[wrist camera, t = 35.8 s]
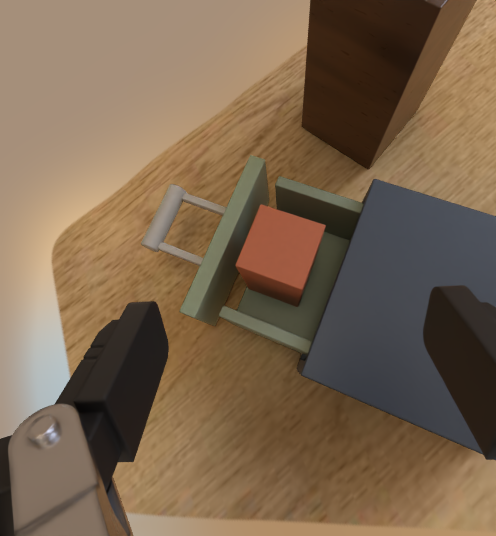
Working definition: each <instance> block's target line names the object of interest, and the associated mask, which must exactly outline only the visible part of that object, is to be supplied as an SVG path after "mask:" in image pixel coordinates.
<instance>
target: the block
mask: <svg viewBox="0 0 496 536" xmlns="http://www.w3.org/2000/svg"><path fill="white" fill-rule="evenodd" d="M325 227H326V226H325V225H323V224H320V223H317V222H314V221H311V220H308V219H305V218H302V217H299V216H295V215H292V214H289V213H286V212H283V211H280V210H277V209H274V208H271V207H268V206H265V205H262V204H261V205H260V207H259V209H258V211H257V214H256V216H255V219H254V221H253V224H252V226H251V228H250V231H249V233H248V236H247V238H246V241H245V243H244V245H243V248H242V250H241V253H240V255H239V258H238V260H237V262H236V267H237V269H238V271H239V273H240V274H241V276H242V278H243V280H244V282H245V283H246V285H247V287H248V289H250V290H253V291H256V292H258V293H261V294H263V295H266V296H269V297H271V298H274V299H277V300H279V301H282V302H285V303H287V304H290V305H293V306H295V307H298V305H299V303H300V300H301V297H302V295H303V292H304V289H305V286H306V284H307V281H308V278H309V275H310V273H311V270H312V267H313V265H314V262H315V259H316V256H317V253H318V249H319V246H320V243H321V240H322V237H323V233H324V230H325Z"/></svg>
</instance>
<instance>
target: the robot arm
mask: <svg viewBox="0 0 496 536" xmlns="http://www.w3.org/2000/svg"><path fill="white" fill-rule="evenodd" d="M423 339H424V344H425V347H426V350H427V352H428V354H429V356H430V357H431V359H432V361H433V363H434V365H435V367H436V368H437V370H438V372H439V374H440V376H441V378H442V379H443V381H444V383H445V385H446V387H447V389H448V390H449V392H450V394H451V396H452V398H453V400H454V401H455V403H456V405H457V407H458V409H459V411H460V412H461V414H462V416H463V418H464V420H465V422H466V423H467V425H468V427H469V429H470V431H471V433H472V434H473V436H474V438H475V440H476V442H477V444H478V445H479V447H480V449H481V451H482V453H483V454H484V456H485V458H486V460H493V459H496V307H494V306H493V305H491V304H489V303H488V302H480V301H479V300H478V299H477V297H476V296H475V295H474V294H473V293H472V292H471V291H470V289H469V288H468V287H466V286H464V285H457V286H438V287H434V288H433V289H432V291H431V293H430V298H429V303H428V308H427V313H426V317H425V322H424V327H423ZM168 351H169V346H168V339H167V335H166V332H165V328H164V325H163V321H162V318H161V314H160V311H159V308H158V305H157V303H156V302H155V301H150V302H131V303H129V304H128V305H127V306H126V308H125V310H124V311H123V313H122V315H121V317H120V319H119V320H112V321H111V322H110V323H109V324H107V325H106V326H105V327H104V328H103V329H102V330H101V331H99V333H98V334H97V336H96V337H95V339H94V341H93V342H92V344H91V348H89V349H88V351H87V352H86V354H85V355H84V359H83V360H81V362H80V364H79V365H78V367H77V368H76V370H75V372H74V373H73V375H72V377H71V378H70V380H69V382H68V383H67V385H66V387H65V388H64V390H63V392H62V393H61V395H60V396H59V398H58V400H57V401H56V403H55V404H54V405H51V406H48V407H45V408H43V409H40V410H39V411H37V412H35V413H34V414H32V415H31V416H29V417H28V418H27V419H26V420H24V421H23V423H21V424H20V425H19V427H18V428H17V429H16V430H15V432H14V433H13V435H11V436H8V437H5V438H1V439H0V536H133V533H132V530H131V527H130V524H129V521H128V519H127V515H126V513H125V510H124V507H123V504H122V501H121V498H120V495H119V492H118V489H117V486H116V483H115V481H114V478H113V473H114V471H115V468H116V465H117V462H134V459H135V456H136V453H137V450H138V447H139V444H140V441H141V438H142V435H143V432H144V429H145V426H146V423H147V420H148V416H149V413H150V410H151V407H152V404H153V401H154V398H155V395H156V392H157V389H158V386H159V383H160V380H161V377H162V374H163V371H164V368H165V365H166V362H167V359H168Z"/></svg>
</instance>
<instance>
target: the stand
mask: <svg viewBox="0 0 496 536" xmlns="http://www.w3.org/2000/svg"><path fill="white" fill-rule="evenodd" d="M475 2H476V0H310V14H309V28H308V43H307V57H306V71H305V85H304V100H303V114H302V127H303V128H304V129H306V130H307V131H309V132H310V133H312V134H314V135H315V136H317V137H318V138H320V139H321V140H323V141H325V142H326V143H328V144H329V145H331V146H332V147H334V148H336V149H337V150H339V151H340V152H342V153H343V154H345V155H347V156H348V157H350V158H351V159H353V160H354V161H356V162H358V163H359V164H361V165H362V166H364V167H365V168H367V169H370V167H371V166H372V165H373V164H374V163H375V161H376V160H377V159H378V158H379V156H380V155H381V154H382V153H383V152H384V150H385V149H386V148H387V147H388V145H389V144H390V143H391V142H392V141H393V139H394V138H395V137H396V136H397V134H398V133H399V132H400V131H401V130H402V128H403V127H404V126H405V125H406V123H407V122H408V121H409V120H410V119H411V117H412V116H413V115H414V114H415V112H416V111H417V110H418V108H419V106H420V104H421V102H422V101H423V99H424V97H425V95H426V93H427V91H428V89H429V88H430V86H431V84H432V82H433V80H434V78H435V76H436V75H437V73H438V71H439V69H440V67H441V65H442V64H443V62H444V60H445V58H446V56H447V54H448V52H449V51H450V49H451V47H452V45H453V43H454V41H455V39H456V38H457V36H458V34H459V32H460V30H461V28H462V26H463V25H464V23H465V21H466V19H467V17H468V15H469V13H470V12H471V10H472V8H473V6H474V4H475Z"/></svg>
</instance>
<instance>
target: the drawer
mask: <svg viewBox="0 0 496 536" xmlns="http://www.w3.org/2000/svg"><path fill="white" fill-rule="evenodd" d="M275 188H276V204H277V210H280V211H283V212H286V213H289V214H292V215H295V216H299V217H302V218H305V219H308V220H311V221H314V222H317V223H320V224H323V225H325V226H326V227H325V230H324V233H323V237H322V240H321V243H320V246H319V249H318V253H317V256H316V259H315V262H314V265H313V267H312V270H311V273H310V275H309V278H308V281H307V284H306V286H305V289H304V292H303V295H302V297H301V300H300V303H299V305H298V307H295V306H293V305H290V304H287V303H285V302H282V301H279V300H277V299H274V298H271V297H269V296H266V295H263V294H261V293H258V292H256V291H253V290H250V289H248V287H246V290H245V292H244V295H243V297H242V299H241V302H240V304H239V306H238V309H237V311H236V310H234V309H232V308H229V307H227V306H224V305H225V302H226V300H227V298H228V295H229V293H230V291H231V288H232V286H233V284H234V282H235V279H236V277H237V275H238V272H239V271H238V269H237V267H236V262H237V260H238V258H239V255H240V253H241V250H242V248H243V245H244V243H245V241H246V238H247V236H248V233H249V231H250V228H251V226H252V224H253V221H254V219H255V216H256V214H257V211H258V209H259V207H260V205H261V204H262V205H265V206H267V205H268V203H269V192H268V183H267V174H266V164H265V159H262V158H258V157H255V156H252V155H250V157H249V159H248V162H247V164H246V166H245V168H244V170H243V173H242V175H241V177H240V179H239V181H238V183H237V186H236V188H235V190H234V192H233V194H232V197H231V199H230V201H229V203H228V205H227V207H224V206H221V205H218V204H216V203H213V202H210V201H207V200H204V199H201V198H199V197H196V196H193V195H190V194H187V193H186V191H185V190H184V189H183V188H181V187H179V186H177V185H174V184H170V186H169V188H168V190H167V192H166V194H165V196H164V198H163V200H162V202H161V204H160V206H159V208H158V210H157V212H156V214H155V216H154V218H153V220H152V222H151V224H150V226H149V228H148V230H147V232H146V234H145V236H144V238H143V240H142V242H141V245H142V246H144V247H146V248H148V249H150V250H152V251H155V252H159V250H161V251H163V252H166V253H168V254H171V255H173V256H176V257H178V258H181V259H183V260H186V261H189V262H191V263H194V264H196V265H199V266H200V267H199V269H198V271H197V274H196V276H195V278H194V280H193V282H192V285H191V287H190V289H189V291H188V293H187V295H186V298H185V300H184V302H183V304H182V306H181V309H180V311H179V312H181V313H183V314H185V315H188V316H190V317H192V318H195V319H197V320H200V321H202V322H205V323H208V324H210V325H213V326H216V323H217V321H218V319H219V316H220V317H221V318H223V319H225V320H227V321H228V322H230V323H232V324H234V325H236V326H239V327H241V328H243V329H246V330H248V331H250V332H253V333H255V334H257V335H260V336H262V337H265V338H267V339H269V340H272V341H274V342H276V343H279V344H281V345H284V346H286V347H288V348H291V349H293V350H295V351H298V352H300V353H302V354H305V355H307V354H308V352H309V349H310V346H311V344H312V341H313V338H314V336H315V333H316V330H317V327H318V325H319V322H320V319H321V317H322V314H323V311H324V309H325V306H326V303H327V301H328V298H329V295H330V293H331V290H332V287H333V285H334V282H335V279H336V277H337V274H338V271H339V269H340V266H341V263H342V261H343V258H344V255H345V253H346V250H347V247H348V245H349V242H350V239H351V237H352V234H353V231H354V229H355V226H356V223H357V221H358V218H359V215H360V212H361V210H362V207H363V203H360V202H357V201H354V200H351V199H348V198H345V197H342V196H339V195H336V194H333V193H330V192H327V191H324V190H321V189H317V188H314V187H311V186H308V185H305V184H302V183H299V182H296V181H293V180H290V179H287V178H284V177H281V176H279V177H278V180H277V182H276V184H275ZM183 201H184V202H186V203H189V204H192V205H194V206H197V207H200V208H203V209H205V210H208V211H211V212H214V213H217V214H219V215H222V219H221V221H220V223H219V225H218V227H217V230H216V232H215V234H214V236H213V238H212V241H211V243H210V245H209V247H208V249H207V252H206V254H205V256H204V258H202V257H199V256H197V255H194V254H192V253H189V252H187V251H184V250H181V249H179V248H176V247H174V246H171V245H169V244H166V243H164V242H163V241H164V239H165V237H166V235H167V233H168V231H169V229H170V227H171V225H172V223H173V221H174V219H175V217H176V215H177V213H178V210H179V208H180V206H181V204H182V202H183Z"/></svg>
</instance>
